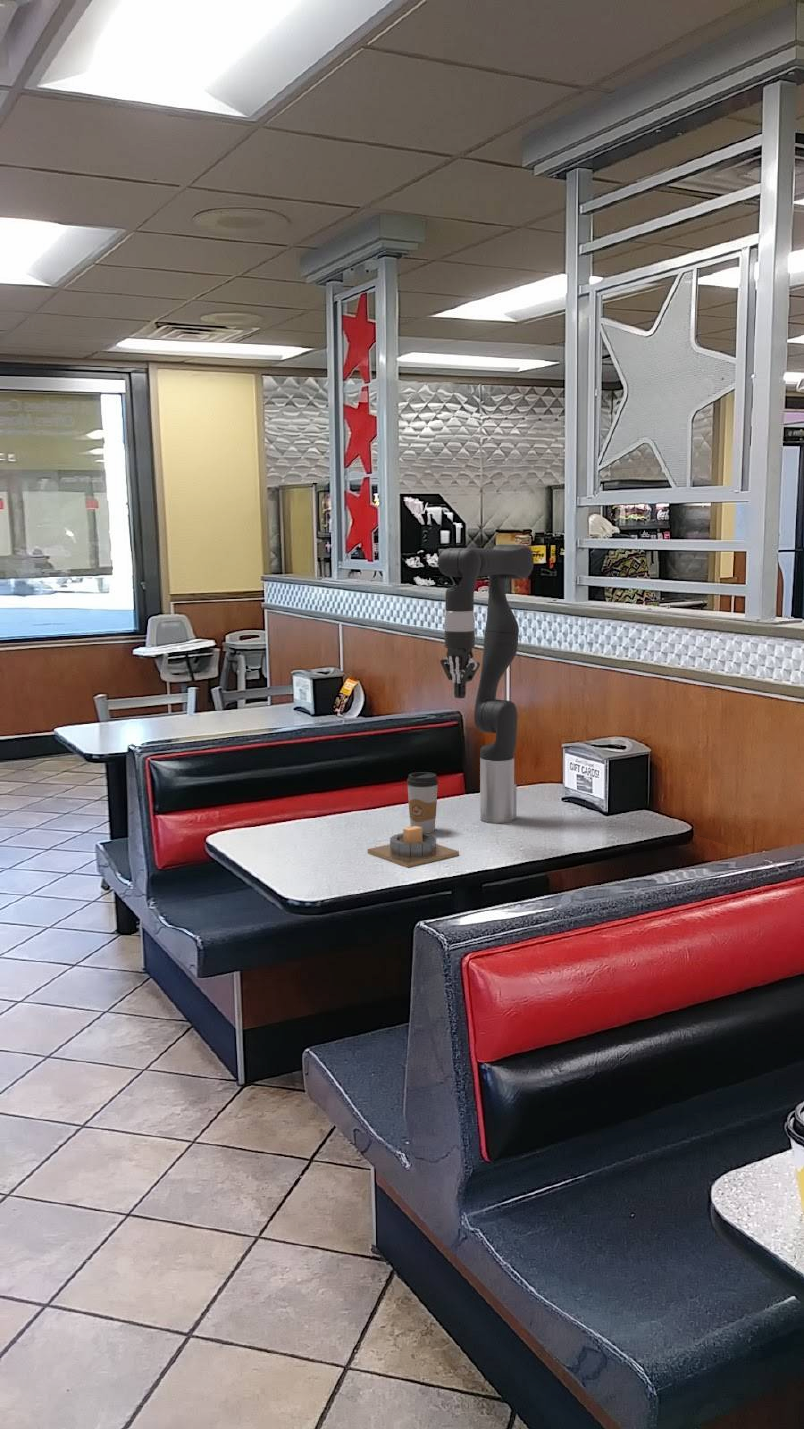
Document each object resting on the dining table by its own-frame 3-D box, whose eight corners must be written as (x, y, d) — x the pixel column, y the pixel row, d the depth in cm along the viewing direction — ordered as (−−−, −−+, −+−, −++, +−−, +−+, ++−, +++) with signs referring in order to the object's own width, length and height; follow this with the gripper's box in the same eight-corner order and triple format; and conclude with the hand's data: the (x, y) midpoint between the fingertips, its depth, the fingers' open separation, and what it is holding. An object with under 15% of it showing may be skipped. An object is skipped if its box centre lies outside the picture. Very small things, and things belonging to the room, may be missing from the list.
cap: (414, 845, 279) (414, 823, 278) (431, 850, 274) (431, 828, 273) (394, 849, 275) (394, 827, 274) (410, 855, 270) (410, 832, 269)
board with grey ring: (418, 841, 285) (418, 826, 285) (459, 855, 273) (459, 839, 272) (367, 853, 276) (367, 837, 275) (407, 867, 263) (407, 851, 263)
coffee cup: (401, 832, 295) (401, 776, 292) (416, 825, 302) (415, 770, 300) (429, 835, 291) (429, 779, 289) (443, 828, 298) (443, 773, 296)
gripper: (488, 629, 275) (488, 699, 277) (453, 626, 285) (454, 693, 288) (465, 631, 270) (465, 702, 273) (431, 628, 281) (431, 696, 283)
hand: (459, 697), depth 280 cm, fingers closed
